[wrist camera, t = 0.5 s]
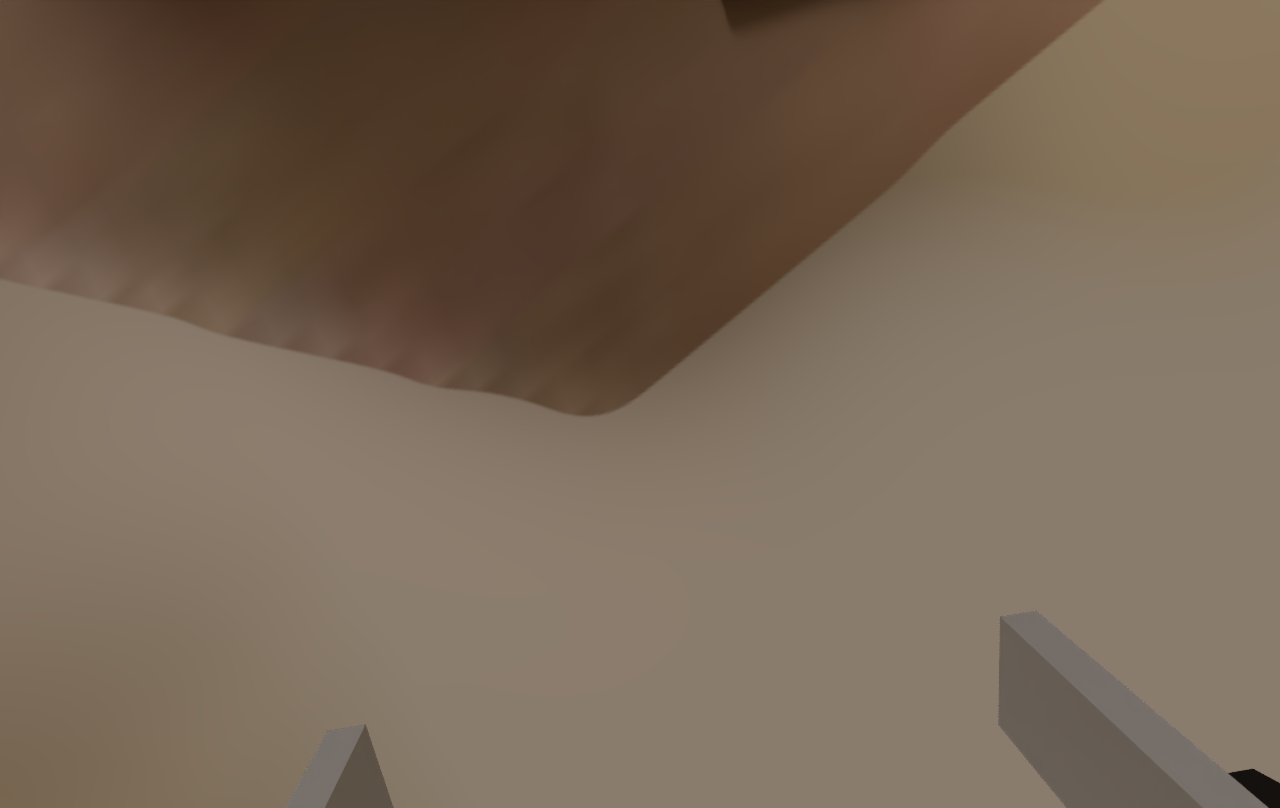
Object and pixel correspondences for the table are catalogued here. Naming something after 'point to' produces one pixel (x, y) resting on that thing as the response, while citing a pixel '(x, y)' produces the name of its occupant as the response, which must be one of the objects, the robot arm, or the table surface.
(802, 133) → the table surface
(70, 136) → the table surface
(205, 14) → the table surface
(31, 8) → the table surface
